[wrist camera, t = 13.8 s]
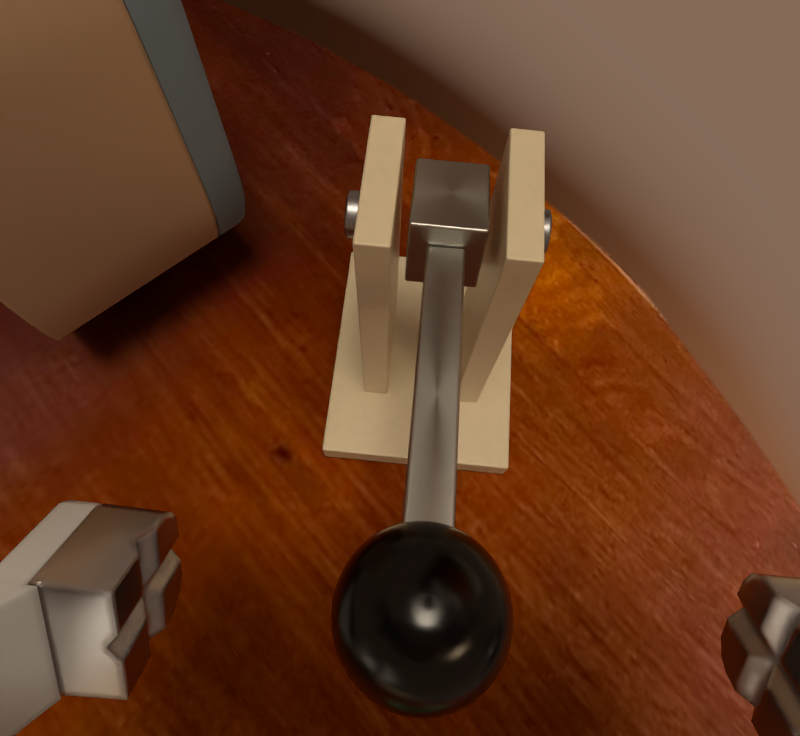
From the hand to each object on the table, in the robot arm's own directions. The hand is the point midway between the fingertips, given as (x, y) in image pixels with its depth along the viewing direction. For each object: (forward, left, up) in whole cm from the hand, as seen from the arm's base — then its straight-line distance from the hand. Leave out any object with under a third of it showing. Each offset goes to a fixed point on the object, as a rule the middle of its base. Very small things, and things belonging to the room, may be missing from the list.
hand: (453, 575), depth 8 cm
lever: (+1, -4, -6) cm, 8 cm away
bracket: (+3, -10, -17) cm, 20 cm away
